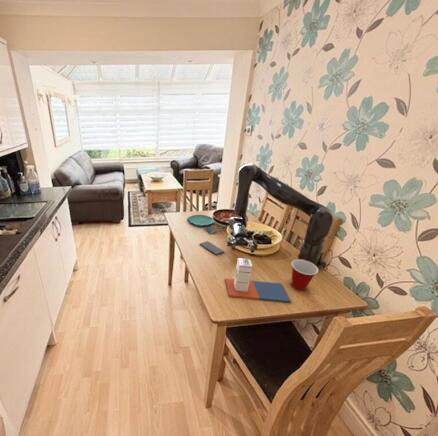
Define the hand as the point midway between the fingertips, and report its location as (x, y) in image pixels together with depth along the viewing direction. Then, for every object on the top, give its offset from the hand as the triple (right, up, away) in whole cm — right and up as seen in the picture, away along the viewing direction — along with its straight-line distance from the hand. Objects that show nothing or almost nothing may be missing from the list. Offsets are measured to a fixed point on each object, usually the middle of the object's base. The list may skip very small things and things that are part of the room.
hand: (243, 250), depth 116 cm
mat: (+4, -18, -4) cm, 19 cm away
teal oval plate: (-4, +11, +62) cm, 64 cm away
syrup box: (-3, -17, -4) cm, 18 cm away
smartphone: (-7, -3, +30) cm, 32 cm away
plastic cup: (+26, -17, -2) cm, 31 cm away
